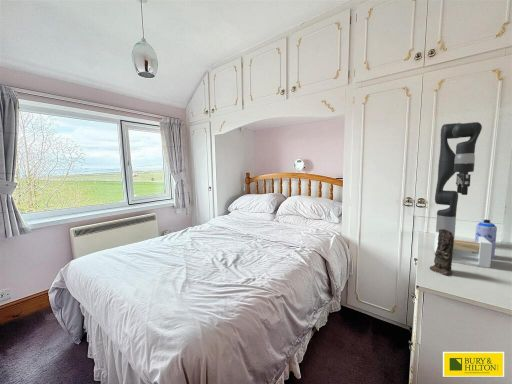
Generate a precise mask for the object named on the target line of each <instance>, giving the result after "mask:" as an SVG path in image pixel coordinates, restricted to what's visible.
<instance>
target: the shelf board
mask: <svg viewBox="0 0 512 384" xmlns="http://www.w3.org/2000/svg"><path fill="white" fill-rule="evenodd" d="M453 249H459V250H466V251H473V252H479V249H480V243H478V242H475V241H469V240H461V239H455V238H454V246H453Z"/></svg>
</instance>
